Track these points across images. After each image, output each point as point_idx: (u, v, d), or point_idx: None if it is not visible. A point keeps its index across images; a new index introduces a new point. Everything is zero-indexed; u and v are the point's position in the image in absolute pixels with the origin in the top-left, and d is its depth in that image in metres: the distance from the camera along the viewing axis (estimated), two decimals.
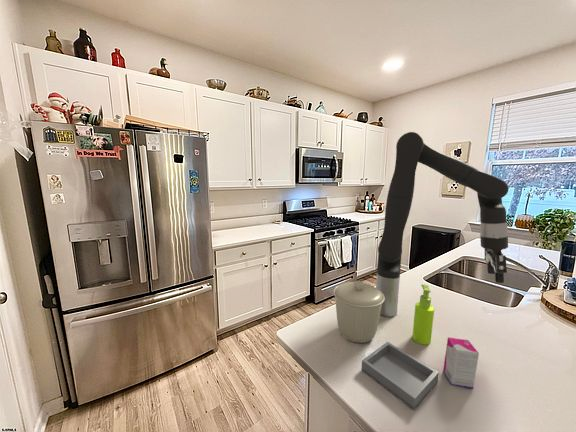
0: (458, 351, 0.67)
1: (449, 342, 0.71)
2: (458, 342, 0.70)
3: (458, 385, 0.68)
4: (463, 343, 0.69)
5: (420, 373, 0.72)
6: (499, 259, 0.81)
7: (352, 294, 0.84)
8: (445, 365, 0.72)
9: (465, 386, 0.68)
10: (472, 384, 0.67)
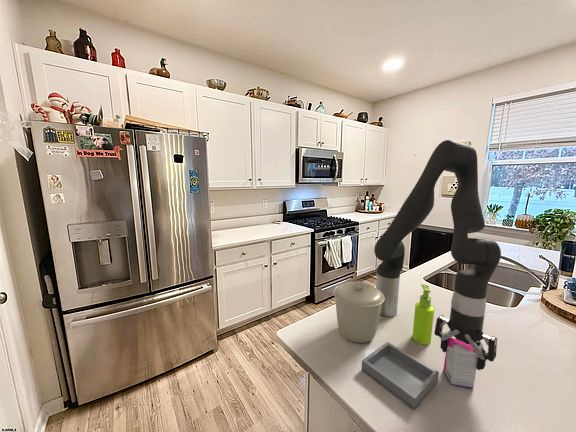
0: (458, 351, 0.67)
1: (449, 342, 0.71)
2: (458, 342, 0.70)
3: (458, 385, 0.68)
4: (463, 343, 0.69)
5: (420, 373, 0.72)
6: None
7: (352, 294, 0.84)
8: (445, 365, 0.72)
9: (465, 386, 0.68)
10: (472, 384, 0.67)
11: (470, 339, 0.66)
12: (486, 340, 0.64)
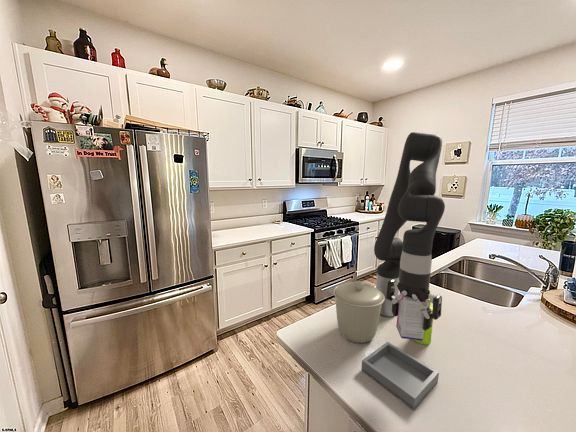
0: (407, 301, 0.65)
1: None
2: None
3: (408, 337, 0.66)
4: None
5: (420, 373, 0.72)
6: None
7: (352, 294, 0.84)
8: (397, 320, 0.71)
9: (415, 338, 0.66)
10: (421, 335, 0.66)
11: (417, 299, 0.64)
12: (431, 299, 0.63)
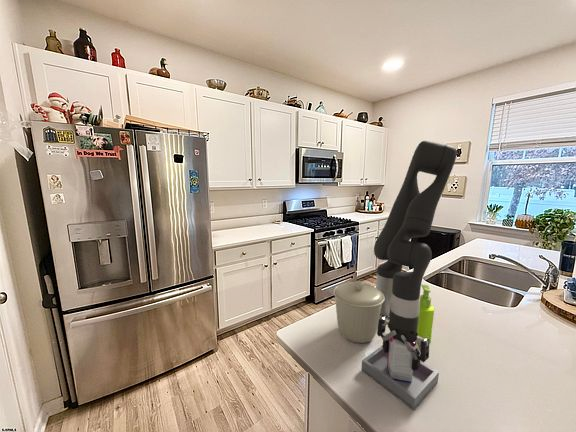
0: (396, 345, 0.68)
1: None
2: None
3: (397, 379, 0.69)
4: None
5: (420, 373, 0.72)
6: None
7: (352, 294, 0.84)
8: (388, 360, 0.73)
9: (404, 380, 0.69)
10: (410, 378, 0.68)
11: (405, 340, 0.67)
12: (419, 341, 0.65)
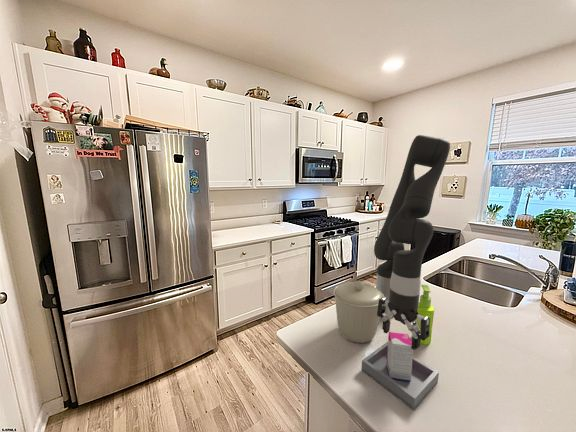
0: (394, 344, 0.68)
1: (389, 336, 0.72)
2: (397, 336, 0.71)
3: (396, 378, 0.69)
4: (401, 337, 0.71)
5: (420, 373, 0.72)
6: None
7: (352, 294, 0.84)
8: (387, 359, 0.74)
9: (403, 379, 0.69)
10: (409, 377, 0.68)
11: (405, 319, 0.66)
12: (419, 319, 0.64)
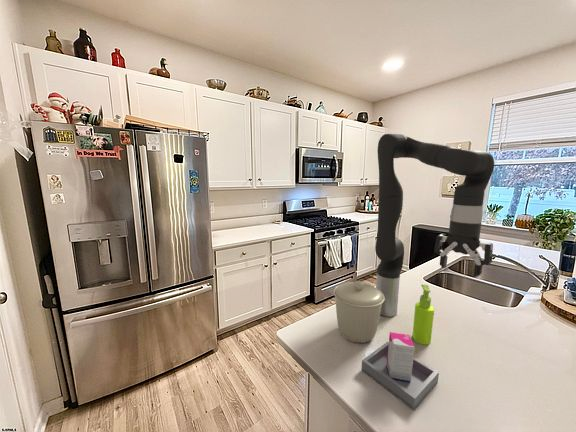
0: (395, 345, 0.68)
1: (390, 337, 0.72)
2: (398, 336, 0.71)
3: (396, 379, 0.69)
4: (402, 338, 0.70)
5: (420, 373, 0.72)
6: None
7: (352, 294, 0.84)
8: (387, 359, 0.73)
9: (403, 380, 0.69)
10: (409, 377, 0.68)
11: (468, 247, 0.70)
12: (482, 246, 0.68)
